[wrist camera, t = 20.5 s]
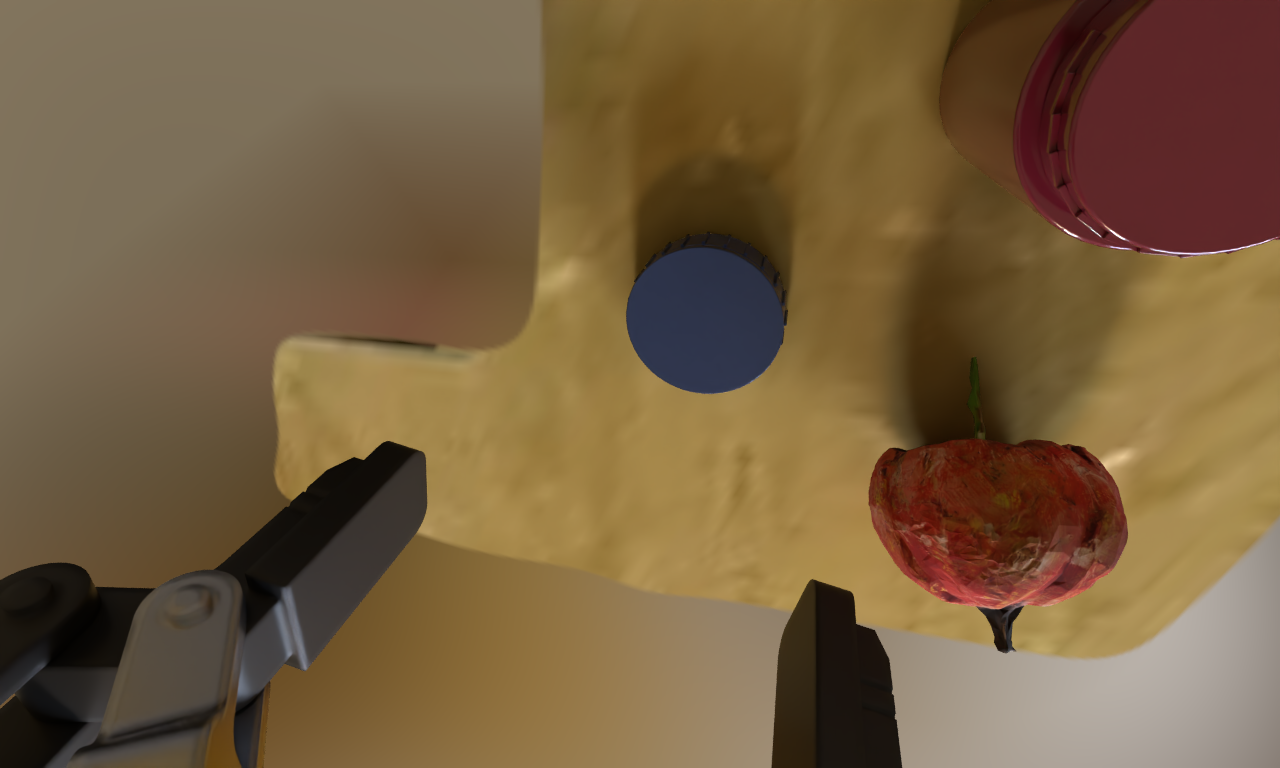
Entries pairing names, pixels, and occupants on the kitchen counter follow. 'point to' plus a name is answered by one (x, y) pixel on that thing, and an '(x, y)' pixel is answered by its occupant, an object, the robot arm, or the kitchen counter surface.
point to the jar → (1126, 117)
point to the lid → (707, 313)
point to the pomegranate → (998, 520)
